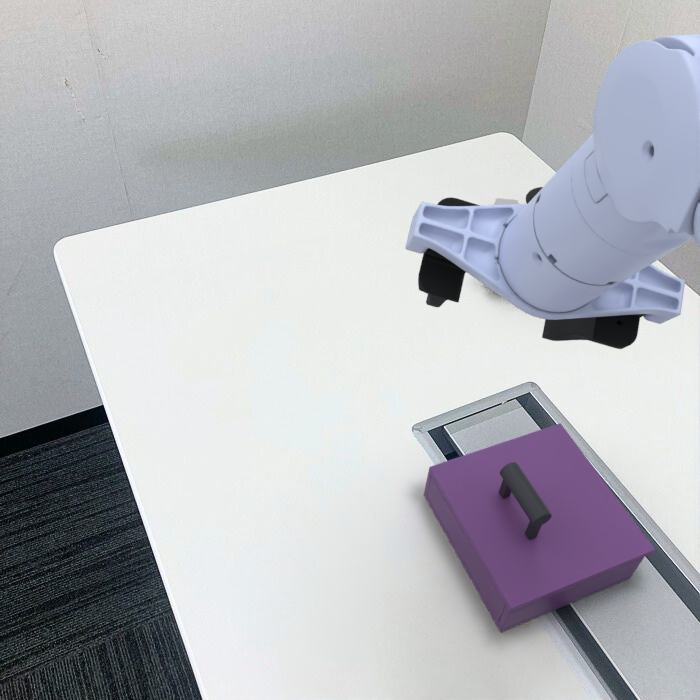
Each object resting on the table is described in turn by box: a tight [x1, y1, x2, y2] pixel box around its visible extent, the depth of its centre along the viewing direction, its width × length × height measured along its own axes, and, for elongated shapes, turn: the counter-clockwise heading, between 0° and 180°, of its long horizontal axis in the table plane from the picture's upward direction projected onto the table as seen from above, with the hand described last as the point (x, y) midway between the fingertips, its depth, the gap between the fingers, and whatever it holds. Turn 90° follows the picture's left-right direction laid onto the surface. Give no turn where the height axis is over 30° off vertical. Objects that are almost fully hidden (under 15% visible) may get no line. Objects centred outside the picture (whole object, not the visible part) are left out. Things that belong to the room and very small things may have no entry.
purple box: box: [423, 471, 645, 633], centre depth 62 cm, size 12×13×4 cm
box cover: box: [428, 423, 656, 612], centre depth 59 cm, size 13×13×4 cm
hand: (492, 307), depth 47 cm, fingers open, 7 cm apart
